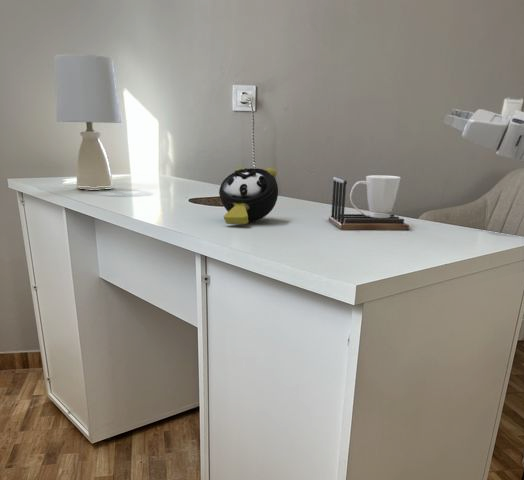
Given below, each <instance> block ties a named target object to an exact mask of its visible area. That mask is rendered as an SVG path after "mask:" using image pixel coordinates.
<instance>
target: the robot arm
mask: <svg viewBox="0 0 524 480" xmlns="http://www.w3.org/2000/svg"><path fill="white" fill-rule="evenodd" d="M443 124H444V125H446V126H450V127H452V128H454V129H456V130H457V131H461V132H462V134H461V137H462V138H463V139H464V140H466V141H468V142H470V143H472V144H475V145H478V146H480V147H483V148H485V149H488V150H491V151H494V152H496V153H495V154H496V155H497V156H498V157H502V158H507V159H510V160H514V161H518V162H523V163H524V111H521V110H518V109H516V110H515V111H514V113H513V115H508V114H506V113H505V114H504V115H502V114H500V113H497V112H494V111H490V110H487V109H480V108H478V109H477V110H476V111H475V112H472V111H467V110H460V109H456V108H454V109H452V111H451V113H448V114H447V115H445V117H444V120H443Z"/></svg>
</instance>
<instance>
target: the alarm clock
mask: <svg viewBox="0 0 524 480" xmlns="http://www.w3.org/2000/svg"><path fill="white" fill-rule="evenodd" d="M276 177H277V171H276V169H274V168H273V167H268V168H266V169H264V168H258V167H257V168H253V167H250V168H246V167H238V168H237V169H235V170H234V172H232V173H231V174H229V175H228V176H227V177H226V178H224V179H223V180H222V182H221V184H220V187H219V190H218V195H219V200H220V201H221V203H222V206H223V207H224V209H225V210H226V211H227V212H226V213H225V214H224V215H223V219H224V221H225V224H227V225H246V224H248V223H249V222H256V221H260V220H262V219H263V218H265V217H266V216H268V215H269V214H270V213H271V212H272V211H273V209H274V208H275V206H276V204H277V201H278V197H279V185H278V182H277V178H276Z"/></svg>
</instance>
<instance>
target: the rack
mask: <svg viewBox="0 0 524 480" xmlns="http://www.w3.org/2000/svg"><path fill="white" fill-rule="evenodd" d="M332 181H333V182H332V183H333V184H332V200H331V214H330V215H329V216H328V221H329V222H330V223H331V224H333V226H335V227H336V228H338V229H339V230H341V231H409V229H410V225H409V224H408V223H406V222H405V219H404V218H400V217H399V216H395V214H392V213H391V214H389V213H387V214H388V215H390V217H389V218H374V217H370V216H365V215H363V214H361V213H345V206H346V193H347V184H348V181H347V180H345V179H342V178H340V177H338V176H333V179H332Z"/></svg>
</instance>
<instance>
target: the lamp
mask: <svg viewBox="0 0 524 480" xmlns="http://www.w3.org/2000/svg"><path fill="white" fill-rule="evenodd" d="M53 68H54V70H53V71H54V86H55V87H54V89H55V90H54V91H55V109H56V110H55V112H56V123H57V122H58V123H59V122H60V123H85V124H86V126H85V127H86V130H85V131H81V132H79V135H80V136H81V138H82V140H81V142H80V145H79V149H78V154H77V163H76V189H77V188H81V189H105V188H111V187H113V188H114V182H113V177H112V171H111V168H110V163H109V160H108V156H107V153H106V149H105V148H104V145H103V144H102V142H101V140H100V136H101V132H99V131H95V129H94V123H98V124H99V123H101V124H104V123H105V124H106V123H107V124H121V123H122V120H121V114H120V113H121V112H120V105H119V104H120V103H119V98H118V90H117V83H116V74H115V67H114V59H113V58H111V57H107V56H103V55H102V56H101V55H93V54H76V53H74V54H73V53H65V54H56V55H55V54H54V56H53ZM110 185H113V186H111V187H98V188H90V187H97V186H110ZM78 186H90V187H78Z"/></svg>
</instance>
